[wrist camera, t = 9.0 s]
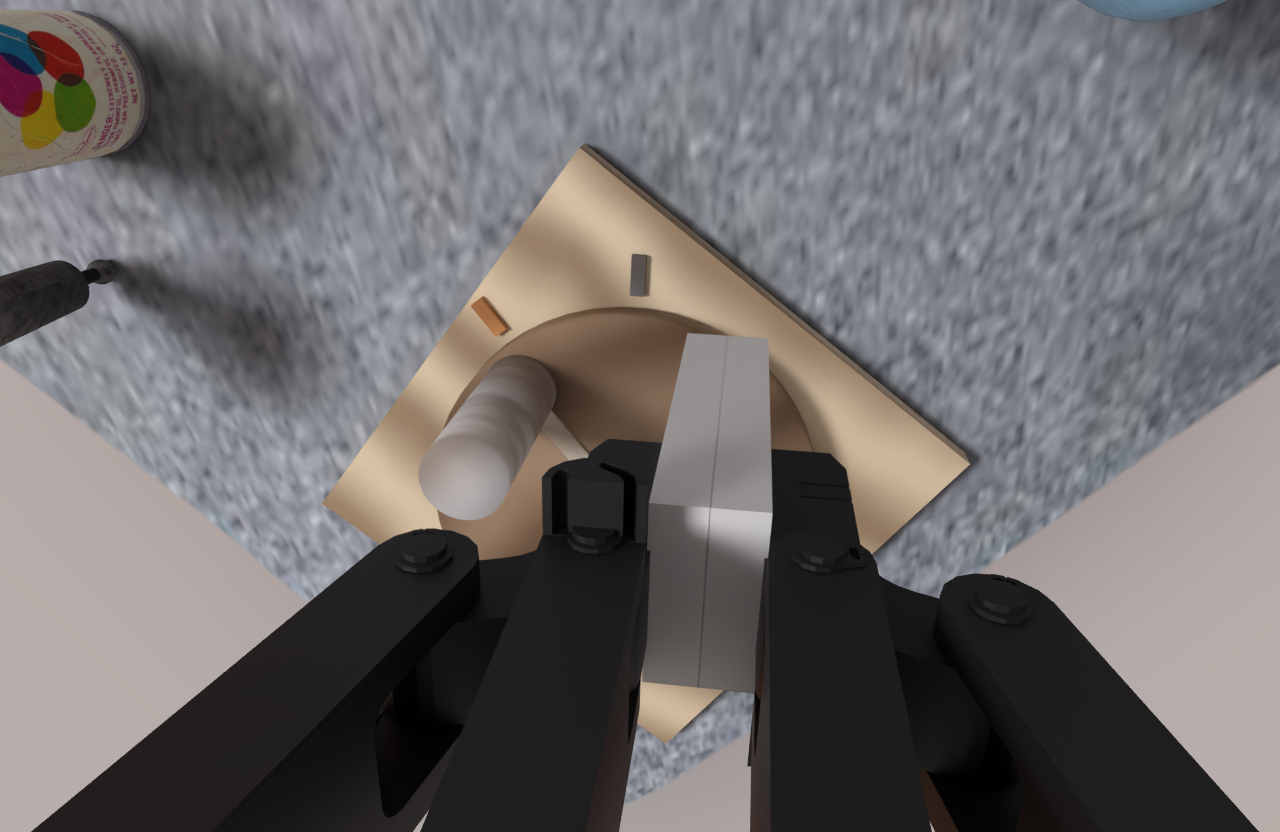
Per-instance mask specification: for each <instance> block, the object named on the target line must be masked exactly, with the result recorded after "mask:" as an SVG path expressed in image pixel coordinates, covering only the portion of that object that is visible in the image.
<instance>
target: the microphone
mask: <svg viewBox="0 0 1280 832" xmlns="http://www.w3.org/2000/svg"><path fill="white" fill-rule="evenodd" d="M114 276H115V270H114V267H113V266H112V264H111V263H109V262H108V261H105V260H94V261H92V262H91V263H90V264H89V265H88V267H87V270H85V271H82V272H81V271H80V270H79V269H77V268H76V267H75V266H74V265H72V264H70V263H68V262H65V261H60V260H59V261H52V262H48V263H45V264H41V265H38V266H34V267H31V268H27V269H24V270H20V271H17V272H13V273H10V274H6V275H3V276H0V347H1V346H3V345H5V344H7V343H9V342H11V341H13V340H15V339H17V338H19V337H21V336H24V335H26V334H28V333H30V332H32V331H34V330H36V329H38V328H40V327H42V326H44V325H47V324H49V323H51V322H53V321H55V320H57V319H59V318H61V317H63V316H65V315H67V314H70V313H72V312H74V311H76V310H78V309H80V308H82V307H83V306H84V305H85V304H86V303H87V301H88V298H89V286H88V284H91V283H93V282H94V283H97V284H107V283H109V282H111V281H112V280H113V278H114Z"/></svg>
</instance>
